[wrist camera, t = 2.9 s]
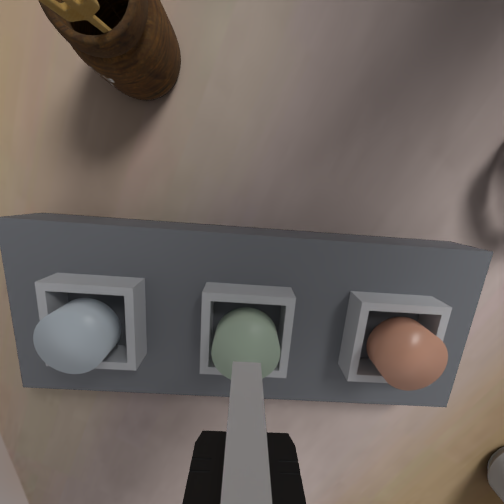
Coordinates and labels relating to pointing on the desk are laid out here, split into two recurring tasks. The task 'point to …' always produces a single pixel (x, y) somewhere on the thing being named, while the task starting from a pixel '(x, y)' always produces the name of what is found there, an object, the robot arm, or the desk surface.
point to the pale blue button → (77, 335)
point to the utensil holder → (121, 42)
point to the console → (237, 302)
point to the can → (497, 472)
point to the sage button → (245, 341)
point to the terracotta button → (406, 353)
